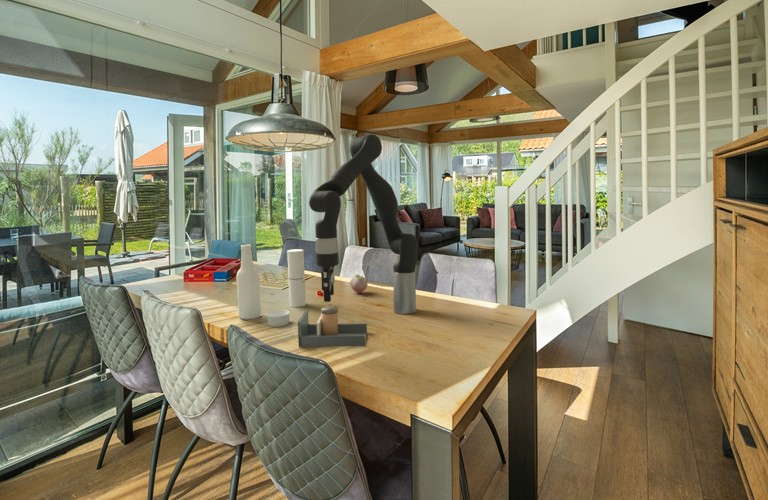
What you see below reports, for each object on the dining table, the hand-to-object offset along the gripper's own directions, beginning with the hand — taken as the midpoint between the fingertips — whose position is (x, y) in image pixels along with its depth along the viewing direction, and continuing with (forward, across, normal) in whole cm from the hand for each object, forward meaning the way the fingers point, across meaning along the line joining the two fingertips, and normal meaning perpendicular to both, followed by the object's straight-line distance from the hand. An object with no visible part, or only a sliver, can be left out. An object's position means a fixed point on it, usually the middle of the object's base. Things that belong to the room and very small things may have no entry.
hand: (329, 298), depth 136 cm
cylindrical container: (+15, +44, +21) cm, 51 cm away
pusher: (+14, 0, +3) cm, 15 cm away
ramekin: (+15, +18, +23) cm, 33 cm away
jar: (+14, 0, 0) cm, 14 cm away
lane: (+15, 0, -1) cm, 15 cm away
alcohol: (+15, +27, +37) cm, 48 cm away
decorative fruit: (+15, +63, -6) cm, 65 cm away
